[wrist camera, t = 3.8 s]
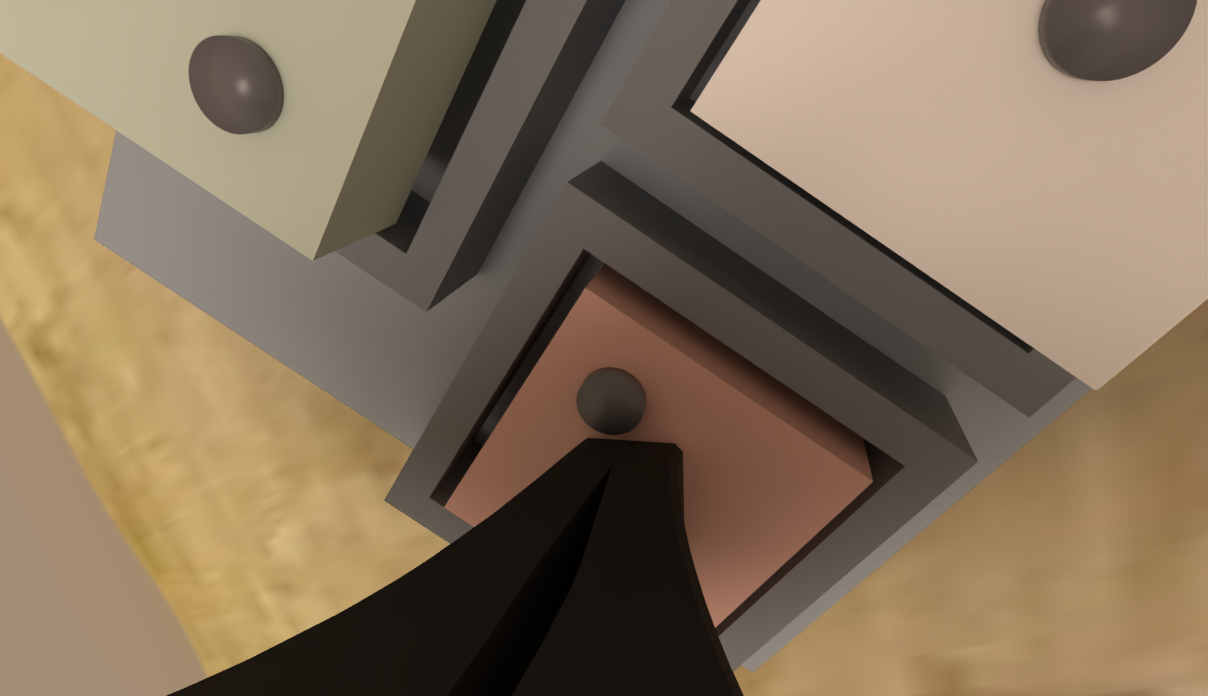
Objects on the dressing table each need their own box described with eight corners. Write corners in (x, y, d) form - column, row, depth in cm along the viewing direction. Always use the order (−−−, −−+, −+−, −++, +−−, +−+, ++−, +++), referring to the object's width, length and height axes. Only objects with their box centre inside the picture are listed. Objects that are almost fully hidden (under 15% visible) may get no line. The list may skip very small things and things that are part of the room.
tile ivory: (1447, -75, 6) (1764, -136, 4) (1028, 319, 8) (1106, 402, 6) (1021, -388, 5) (1143, -604, 4) (708, 98, 7) (688, 112, 6)
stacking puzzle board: (1493, -31, 8) (1872, -75, 5) (754, 625, 14) (749, 759, 11) (406, -830, 7) (190, -1346, 5) (147, 224, 14) (-7, 266, 11)
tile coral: (857, 413, 10) (874, 490, 8) (691, 580, 12) (677, 671, 10) (616, 249, 10) (581, 293, 8) (488, 446, 12) (438, 515, 10)
